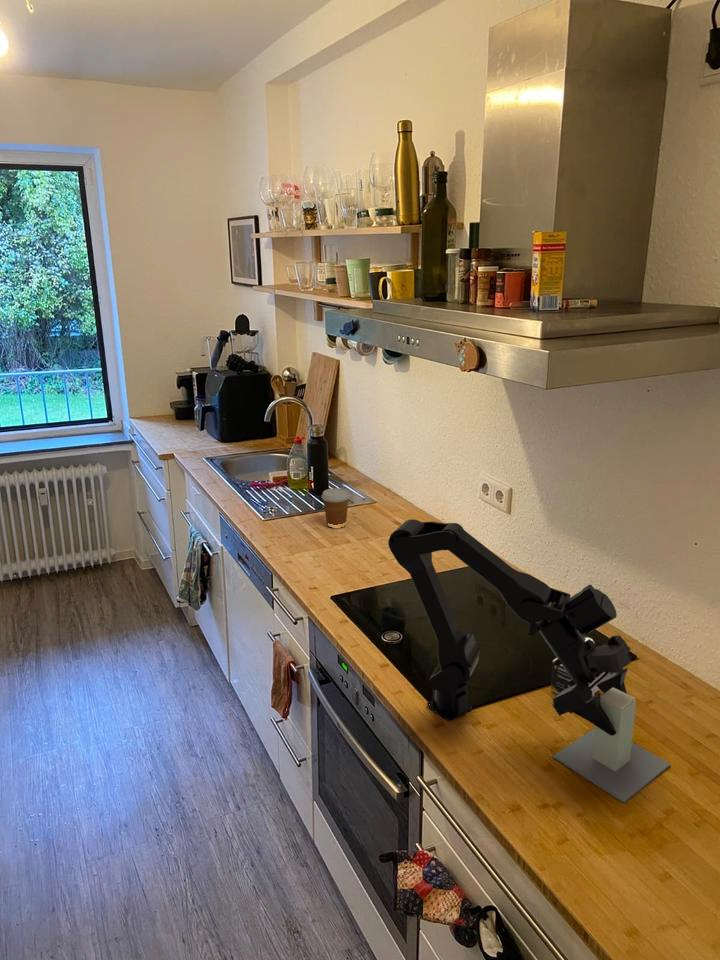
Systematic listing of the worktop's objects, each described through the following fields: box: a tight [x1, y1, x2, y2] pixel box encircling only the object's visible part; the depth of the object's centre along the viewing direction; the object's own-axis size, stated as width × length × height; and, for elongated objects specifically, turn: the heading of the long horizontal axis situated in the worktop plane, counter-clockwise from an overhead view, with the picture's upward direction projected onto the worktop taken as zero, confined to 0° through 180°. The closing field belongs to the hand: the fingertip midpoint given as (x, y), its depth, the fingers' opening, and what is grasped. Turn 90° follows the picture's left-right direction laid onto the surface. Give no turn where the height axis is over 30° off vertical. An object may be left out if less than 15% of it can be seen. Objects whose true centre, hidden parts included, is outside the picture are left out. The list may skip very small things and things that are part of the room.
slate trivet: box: [552, 727, 671, 804], centre depth 121 cm, size 14×14×1 cm
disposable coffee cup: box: [321, 487, 351, 525], centre depth 234 cm, size 10×10×12 cm
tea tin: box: [593, 688, 637, 772], centre depth 119 cm, size 4×4×13 cm
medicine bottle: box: [550, 633, 600, 695], centre depth 140 cm, size 7×7×12 cm
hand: (622, 725), depth 118 cm, fingers open, 6 cm apart
